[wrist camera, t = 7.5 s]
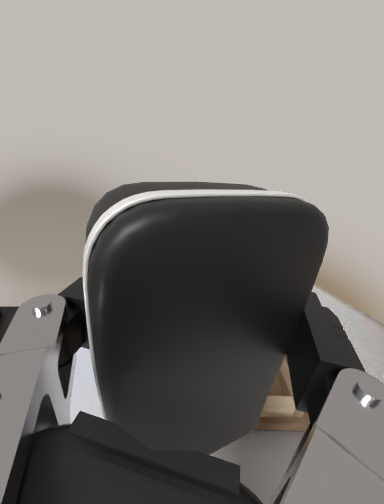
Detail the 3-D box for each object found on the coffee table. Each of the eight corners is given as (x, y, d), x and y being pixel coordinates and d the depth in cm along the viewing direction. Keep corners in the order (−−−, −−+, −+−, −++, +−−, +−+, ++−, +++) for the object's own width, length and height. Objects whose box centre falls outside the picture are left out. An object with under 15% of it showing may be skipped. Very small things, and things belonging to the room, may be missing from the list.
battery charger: (221, 365, 14) (263, 176, 9) (261, 429, 11) (356, 198, 6) (103, 408, 11) (69, 168, 6) (113, 511, 8) (64, 202, 3)
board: (292, 329, 33) (298, 315, 32) (350, 432, 22) (362, 415, 20) (184, 323, 32) (186, 308, 31) (184, 428, 20) (186, 410, 19)
